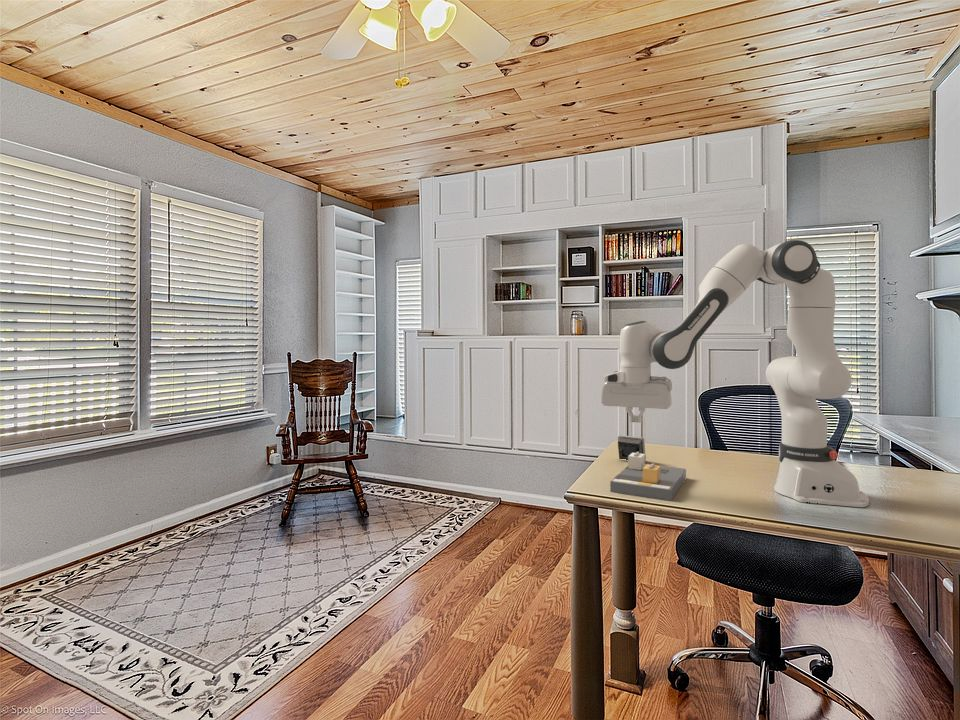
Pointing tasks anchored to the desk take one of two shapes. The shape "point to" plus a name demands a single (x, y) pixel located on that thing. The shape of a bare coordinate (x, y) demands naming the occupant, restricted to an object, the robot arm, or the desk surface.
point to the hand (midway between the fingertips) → (635, 422)
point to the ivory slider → (636, 461)
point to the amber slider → (651, 473)
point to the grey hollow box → (630, 446)
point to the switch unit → (634, 485)
